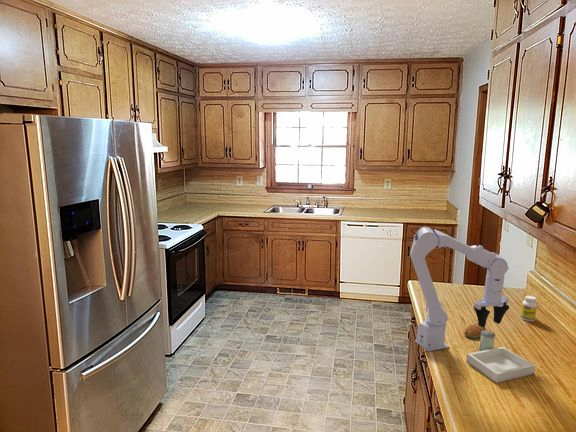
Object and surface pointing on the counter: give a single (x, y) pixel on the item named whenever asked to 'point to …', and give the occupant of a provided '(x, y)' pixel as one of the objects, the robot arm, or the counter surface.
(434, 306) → the robot arm
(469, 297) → the counter surface
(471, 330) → the pastry
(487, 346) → the tin
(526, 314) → the supplement bottle
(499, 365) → the bin
